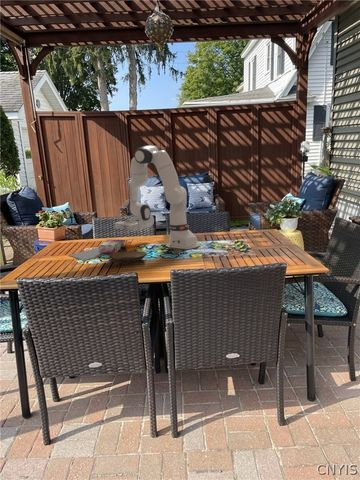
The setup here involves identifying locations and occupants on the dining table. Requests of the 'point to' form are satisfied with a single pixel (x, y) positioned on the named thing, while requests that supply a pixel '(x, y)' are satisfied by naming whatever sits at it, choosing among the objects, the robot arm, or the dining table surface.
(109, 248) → the candy bar box
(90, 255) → the grey mat
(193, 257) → the dining table surface
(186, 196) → the robot arm
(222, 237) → the dining table surface
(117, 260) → the oil lamp
